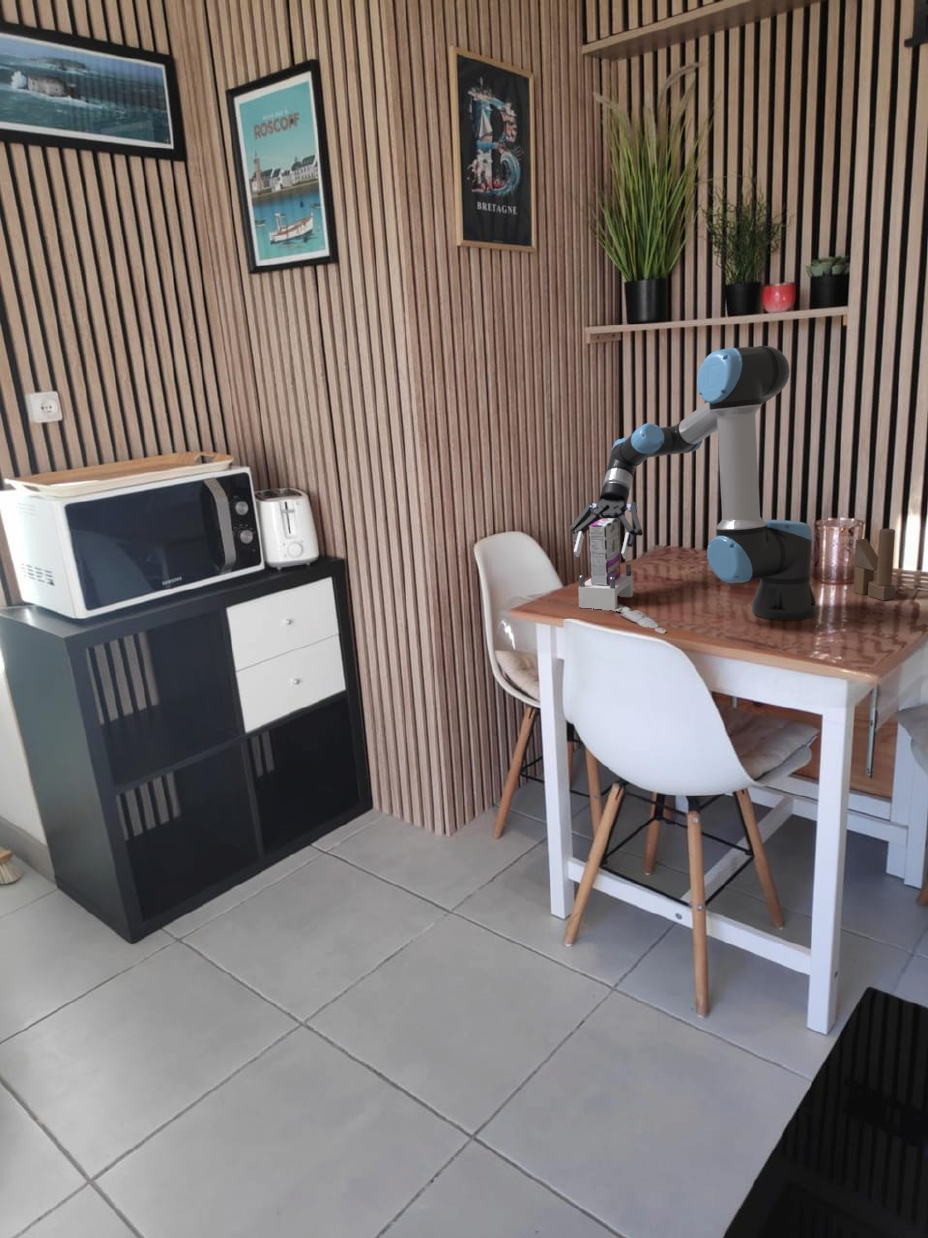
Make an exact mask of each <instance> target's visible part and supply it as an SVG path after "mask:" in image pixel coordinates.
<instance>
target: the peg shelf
mask: <svg viewBox="0 0 928 1238" xmlns="http://www.w3.org/2000/svg"><path fill="white" fill-rule="evenodd" d="M620 575H621V576H620V577H618V578H617V579H616V580H615V576H610V585H608V586H599V585H592V581H591V577H590V578H589V579H588V580H586V581H585V579H586V577H585V574H579V575H578V580H579V583H578V584H579V586H578V608H579V607H581V608H592V609H591V610H593V608H594V609H602V610H601V611H609V610H615V609H616V608H617V603H618V597H617V596H620V597H619V598H633V595H634V591H633V590H634V589H633V585H634V584H633V583H634V582H633V574H632V563H626V564H625V573H620Z"/></svg>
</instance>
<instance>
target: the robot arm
mask: <svg viewBox="0 0 928 1238" xmlns="http://www.w3.org/2000/svg"><path fill="white" fill-rule="evenodd" d="M789 378H790V364H789V361H788V358H787V356H785V355H784V353H783V352H782V351H781V350H779V349H777V348H775V347H773V346H770V345H769V346H768V345H759V346H745V347H728V348H722V349H717V350H714V351H713V352H711V353H710V354H708V355H707V356H706V357H705V358H704V361H703V362H702V363H701V365H700V367H699V369H698V373H697V379H696V380H697V381H696V383H697V391H698V394H699V395H700V396H701V399H702V400H703V401H704V402H705V403H704V404H702V405H701V406H700V407H698V408H697V409H696V410H694V411H693V412H692V413H691V414H689V415H688V416H687V417H685V418H684V419H682V420H681V421H679V422H678V423H677V424H675V425H672V426H671V425H670V426H663V427H660V426H658V424H653V423H651V422H648V423H644V424H642V426H640V427H638V428H637V429H636V430H634V431H633V433H631V435H630V436H628V437H623V438H619V439H617V440H616V441H615V442H614V443H613V445H612V449H611V450H610V456H609V459H608V460H609V461H608V465H607V469H606V473H605V476H604V480H603V482H602V483H603V484H602V488H601V492H600V496H599V500H598V502H597V503H592V502H591V501H587V502H586V505H585V507H584V509H582V511H581V513H580V514H579V515H578V516H577V518H576V519H575V520H574V521H573V522H572V524H571V525H570V526H569V529H570V532H571V533H572V534H573V535H574V537H573V544H574V549H573V553H574V555H575V557H576V558H580V555H581V551H582V546H583V543H584V539H585V536H584V534H585V533H586V532H588V531H589V526H590V525H591V524H593V523H595V522H596V521H598V520H600V519H601V518H618V521H620V522H621V524H622V525H623V526H624V528H625V530H626V531H627V532H625V535H624V541H623V543H622V544H623V545H622V547H621V552H620V553H621V554H620V555H621V556H622V558H623V560H626V559H627V557H628V553H629V549H630V548H633V546H634V543H635V538H636V537H637V536H639V537H641V536H643V535H644V532H643V529H642V525H641V523H640V519H639V516H638V506H637V503H636V502H635V501H632V502H631V503H628V501H629V496H630V491H631V487H632V483H633V480H634V475H635V471H636V468H637V467H638V466H640V465H641V464H643V462H645V461H646V460H647V459H649V458H654V457H655V458H656V457H662V456H669V455H678V454H688V453H691V452H695V451H697V450H698V449H700V447H701V445H702V444H703V441H704V440H705V439H707V437H710V435H712V434H713V433H715V432H716V431H717V444H718V458H719V459H718V463H719V464H718V465H719V477H720V478H719V480H720V481H719V482H720V484H719V485H720V499H721V518H722V519H721V520H720V522H719V523H718V524H717V525H716V526H715V527H716V528H715V529H716V532H715V533H716V536H715V537H714V538H712V539H711V540H710V541H709V544H708V546H707V550H706V551H707V552H706V553H707V554H706V555H707V557H706V558H707V562H708V565H709V566H710V567H709V568H710V569H711V571H712V573H714V574H715V575H716V577H717V578H718V579H719V580H721V581H722V582H725V583H727V584H736V583H747V582H748V581H752V580H758V579H759V584H758V587H757V590H756V592H755V594H754V595H755V596H754V598H753V600H752V603H751V604H752V607H751V612H752V613H753V614H754V616H757V617H760V618H764V619H768V620H775V621H797V620H798V621H799V620H805V619H810V618H812V617H814V616H815V615H816V614H817V603H816V599H815V595H814V592H813V590H812V586H811V581H810V580H811V579H810V578H811V559H812V558H811V557H812V542H813V538H812V528H811V526H810V525H809V524H807V523H805V522H801V521H795V520H785V519H784V520H783V519H763V518H762V517H761V511H760V510H761V509H760V507H761V506H760V488H759V486H760V485H759V466H758V445H757V444H758V443H757V442H758V441H757V425H756V424H757V423H756V422H757V421H756V414H757V412H758V411H759V409H760V408H761V407H762V405H763V404H764V403H766V402H768V401H769V400H771V399H773V398H774V397H776V396H777V395H778V394H779V393H781V391H783V390H784V388H785V387H786V385H787V384H788V381H789ZM627 510H628V511H629V513H631V516H632V520H633V523H634V526H635V528H633V526H632V525H631V523H630V522H629V521H628V519H627V518H626V516H625V515H624V513H625V512H626V511H627ZM592 513H593V514H592Z"/></svg>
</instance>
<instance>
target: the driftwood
mask: <svg viewBox="0 0 928 1238" xmlns="http://www.w3.org/2000/svg"><path fill="white" fill-rule="evenodd" d="M616 611H617V612H616ZM611 612H615V613H619V612H620V617H623V618H624V619H626V620H628V621H631V622H634V623H636V624H637V626H638V627H644V628H650V629H653V628H654V632H657V633H659V634H661V635H662V634H664V633H666V632H667V629H665V628H663V627H661V625H660V624H659V622H657V621H656V620H655V619H653V618H652V617H650V616H649V615H647V614H645V613H644V612H642V611H640V610H638V609H636V610H635V609H634V610H633V609H632V608H630V607H628V606H626V605H623V604H620V603H618V602H617V608H616V609H615V610H612V611H611Z"/></svg>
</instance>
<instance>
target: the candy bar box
mask: <svg viewBox="0 0 928 1238" xmlns="http://www.w3.org/2000/svg"><path fill="white" fill-rule="evenodd" d="M619 525H620V524H619V518H601V519H600V520H598V521H596V522H595V523H593V524H591V525H590V526H589V530H588V532H589V534H588V535H589V536H588V538H589V552H590V553H589V555H590V576H591V577H590V578H591V581H592V585H599V586H608V585H610V576H615V580H616V579H617V578H618V577H620V576H621V575H620V574H621V557H620V555H621V554H620V553H621V552H620V529H619Z"/></svg>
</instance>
